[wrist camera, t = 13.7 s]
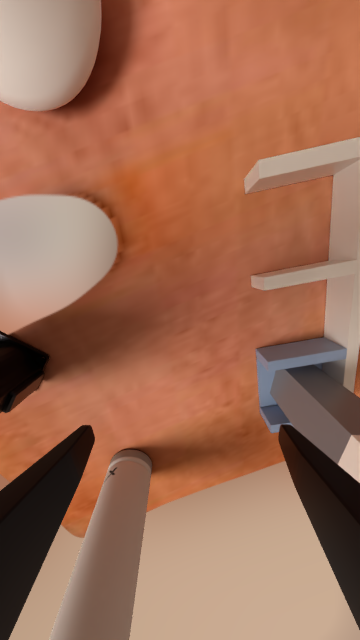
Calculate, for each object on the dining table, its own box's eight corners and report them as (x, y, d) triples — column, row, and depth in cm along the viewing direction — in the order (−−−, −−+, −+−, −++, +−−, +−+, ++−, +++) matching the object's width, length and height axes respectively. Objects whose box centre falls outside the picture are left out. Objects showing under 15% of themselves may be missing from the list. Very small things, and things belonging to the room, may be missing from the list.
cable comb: (244, 179, 16) (258, 160, 13) (348, 156, 15) (386, 130, 13) (260, 413, 24) (271, 433, 21) (328, 402, 23) (349, 421, 21)
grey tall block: (269, 393, 23) (363, 524, 11) (277, 362, 21) (393, 476, 10) (303, 394, 23) (431, 527, 11) (313, 364, 21) (470, 479, 10)
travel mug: (106, 448, 26) (-102, 975, 7) (151, 448, 26) (72, 972, 7) (111, 477, 28) (-40, 954, 8) (153, 477, 28) (96, 951, 9)
